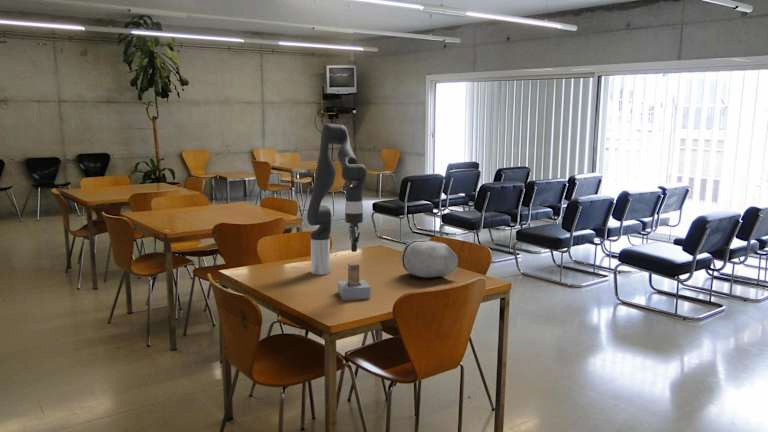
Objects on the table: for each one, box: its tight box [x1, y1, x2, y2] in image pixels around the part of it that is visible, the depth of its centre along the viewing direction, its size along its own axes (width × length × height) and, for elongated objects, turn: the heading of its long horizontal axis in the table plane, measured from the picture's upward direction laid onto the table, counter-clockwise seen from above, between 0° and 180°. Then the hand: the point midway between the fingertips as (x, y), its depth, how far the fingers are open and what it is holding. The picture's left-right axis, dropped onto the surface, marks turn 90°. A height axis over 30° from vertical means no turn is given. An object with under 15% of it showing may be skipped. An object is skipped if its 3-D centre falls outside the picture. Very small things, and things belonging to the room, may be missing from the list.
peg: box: [347, 262, 360, 286], centre depth 261 cm, size 4×4×14 cm
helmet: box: [401, 239, 459, 279], centre depth 295 cm, size 18×25×30 cm
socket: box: [337, 279, 371, 301], centre depth 262 cm, size 12×12×5 cm
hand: (354, 251), depth 259 cm, fingers closed
